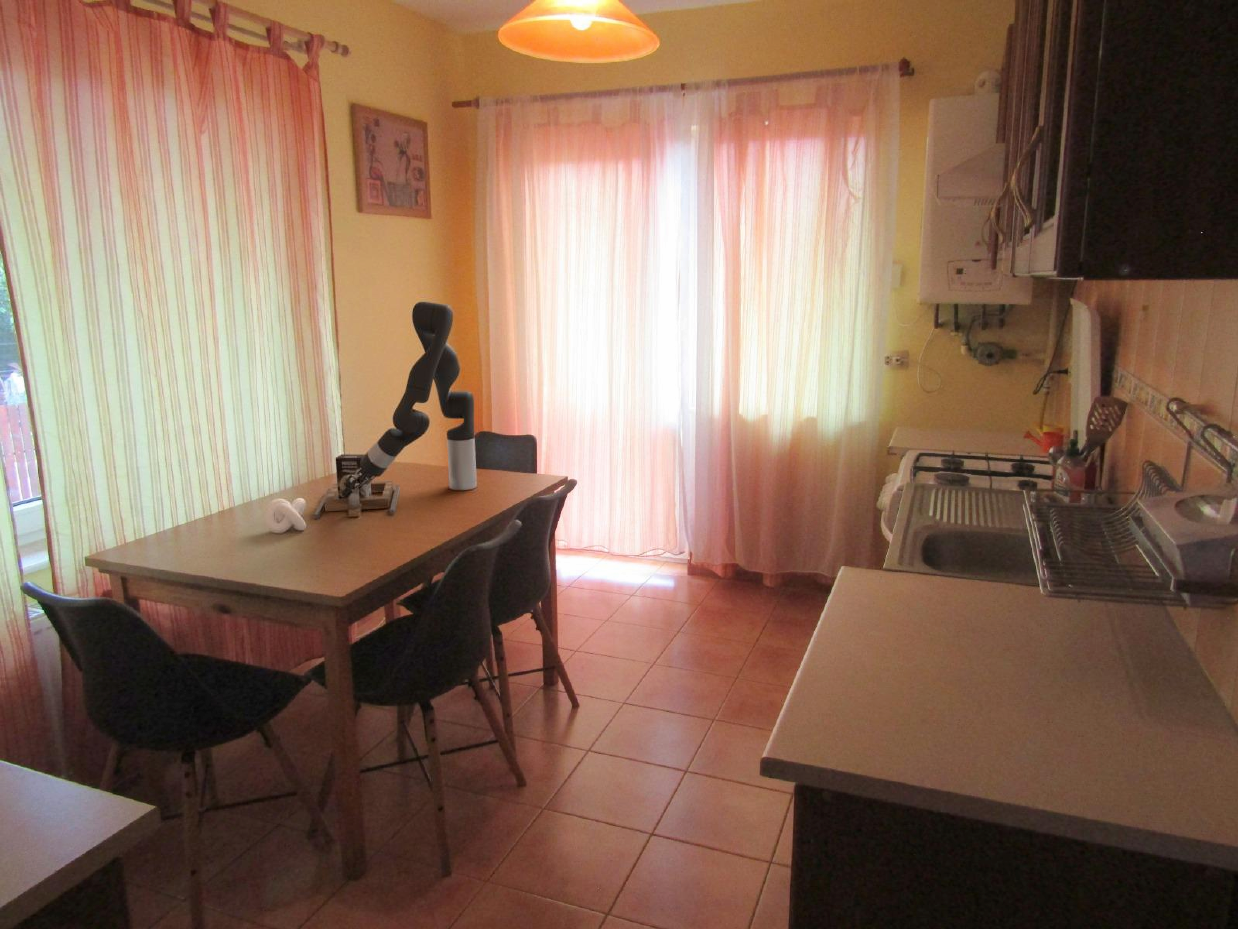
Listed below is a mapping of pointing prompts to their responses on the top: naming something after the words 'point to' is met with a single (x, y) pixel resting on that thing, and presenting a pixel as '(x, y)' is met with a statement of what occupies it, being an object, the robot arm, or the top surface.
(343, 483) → the coffee box
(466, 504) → the top surface
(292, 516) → the white knot sculpture
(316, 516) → the guide rails
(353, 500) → the frame
